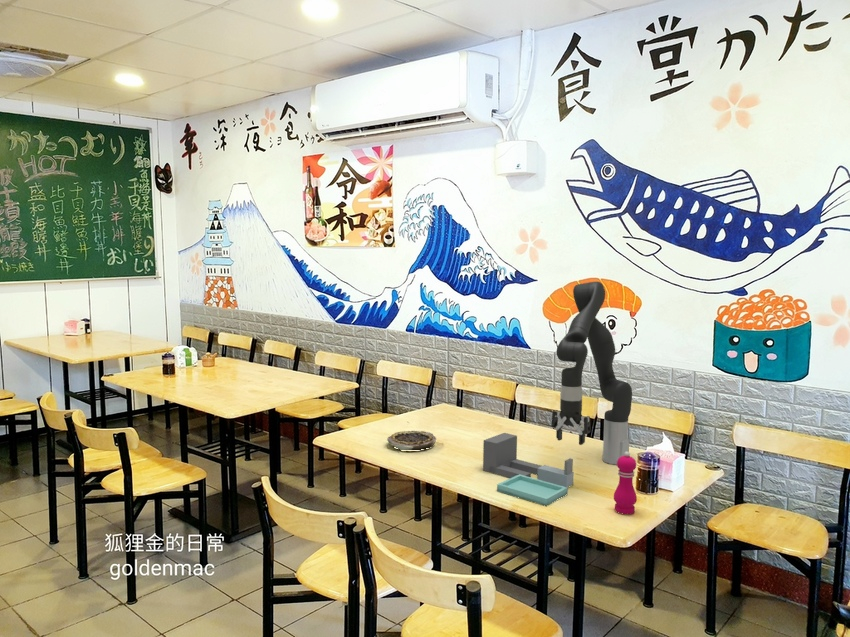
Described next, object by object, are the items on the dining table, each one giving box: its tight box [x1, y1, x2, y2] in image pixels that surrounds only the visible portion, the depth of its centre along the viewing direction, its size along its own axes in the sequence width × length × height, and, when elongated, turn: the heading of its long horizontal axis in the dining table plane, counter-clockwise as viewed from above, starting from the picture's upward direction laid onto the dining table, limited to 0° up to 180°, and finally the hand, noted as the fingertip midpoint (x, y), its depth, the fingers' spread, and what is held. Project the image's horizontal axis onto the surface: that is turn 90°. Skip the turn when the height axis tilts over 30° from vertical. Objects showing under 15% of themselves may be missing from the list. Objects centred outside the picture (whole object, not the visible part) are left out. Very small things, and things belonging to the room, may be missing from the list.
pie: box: [386, 430, 437, 451], centre depth 284 cm, size 28×27×5 cm
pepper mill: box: [613, 451, 638, 515], centre depth 214 cm, size 7×7×20 cm
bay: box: [482, 432, 542, 479], centre depth 251 cm, size 19×14×12 cm
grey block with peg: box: [536, 457, 575, 489], centre depth 240 cm, size 12×5×10 cm, turn 49°
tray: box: [496, 474, 569, 507], centre depth 230 cm, size 20×14×2 cm
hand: (570, 442), depth 235 cm, fingers open, 8 cm apart
